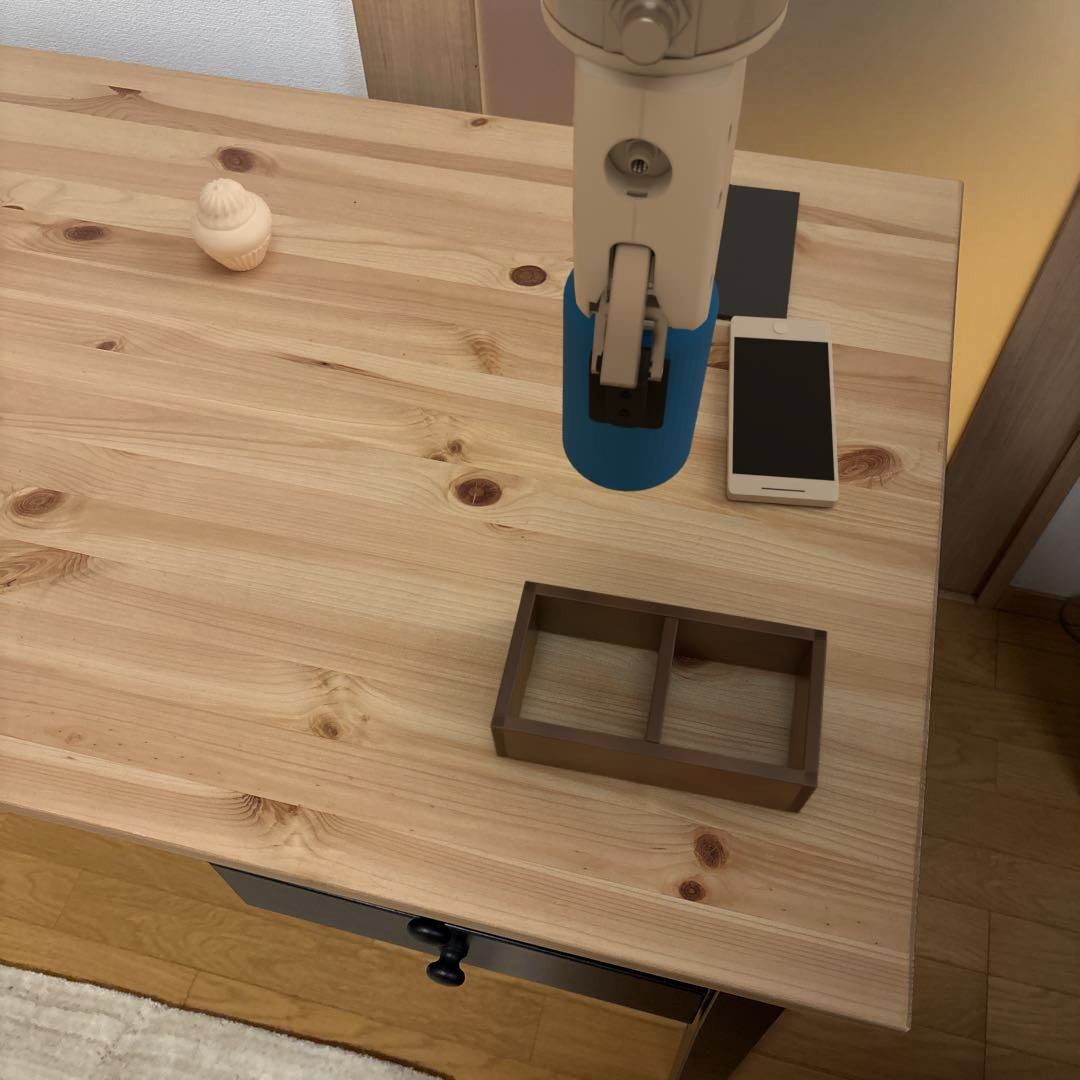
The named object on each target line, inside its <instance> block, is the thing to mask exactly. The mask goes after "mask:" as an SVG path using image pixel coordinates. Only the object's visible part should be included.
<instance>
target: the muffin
mask: <svg viewBox="0 0 1080 1080" xmlns="http://www.w3.org/2000/svg"><path fill="white" fill-rule="evenodd" d="M197 199H198V201H197V205H196V206H195V208H194V210H193V211H192V212H191V215H190V220H189V232H190V235H191V237H192V240H194V242H195V243H196V244H197V246H198V247H200V248H201V249H202V250H203V252H204V253H206V254H207V255H208V256H209V257H211V258H212V259H213V260H215V261H217V262H218V263H219V264H222V266H224V267H226V268H227V269H229V270H231V271H235V272H238V271H239V272H246V271H250V270H253V269H254V268H257V266H260V264H262V262H263V261H264V259H265V257H266V253H267V251H268V250H267V249H268V247H269V244H270V240H271V237H272V232H273V229H272V226H273V214H272V211H271V209H270V207H269V205H268V204H267V203H266V202H265V200H264V199H262V198H261V197H260V196H259V195H257V194H256V193H254V192H252V191H249V190H247V189H246V190H245V188H244V187H243V185H242V184H241V183H240V182H238V181H235V180H233V179H231V178H223V177H219V178H218V179H212V181H211V182H206V183H205V186H202V187H201V188H200V191H199V193H198V194H197Z"/></svg>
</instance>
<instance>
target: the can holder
mask: <svg viewBox="0 0 1080 1080" xmlns="http://www.w3.org/2000/svg"><path fill="white" fill-rule="evenodd" d="M539 632H544V633H549V634H555V635H561V636H567V637H572V638H577V639H585V640H590V641H595V642H602V643H607V644H613V645H619V646H625V647H630V648H634V649H636V648H637V649H643V650H648V651H653V652H657V657H656V664H655V669H654V676H653V683H652V690H651V697H650V702H649V709H648V715H647V722H646V727H645V733H644V740H643V739H637V738H631V737H625V736H620V735H616V734H609V733H605V732H604V733H603V732H599V731H595V730H589V729H582V728H578V727H577V728H576V727H572V726H568V725H561V724H556V723H550V722H545V721H540V720H534V719H528V718H524V717H520V715H521V711H522V706H523V703H524V702H523V701H524V697H525V692H526V688H527V683H528V680H529V675H530V672H531V671H530V670H531V666H532V662H533V657H534V653H535V649H536V644H537V640H538V634H539ZM828 634H829V632H828V631H827V630H825V629H820V628H819V629H818V628H813V627H806V626H801V625H796V624H790V623H789V624H788V623H782V622H777V621H770V620H765V619H759V618H753V617H746V616H741V615H734V614H729V613H722V612H718V611H713V610H712V611H711V610H705V609H699V608H693V607H686V606H681V605H674V604H669V603H668V604H667V603H665V602H664V603H663V602H657V601H651V600H646V599H639V598H634V597H633V598H632V597H627V596H621V595H615V594H609V593H604V592H598V591H592V590H586V589H580V588H573V587H566V586H561V585H556V584H549V583H543V582H538V581H532V580H525V581H524V585H523V588H522V592H521V597H520V601H519V605H518V609H517V613H516V617H515V621H514V626H513V630H512V634H511V638H510V642H509V647H508V650H507V655H506V659H505V663H504V666H503V667H504V668H503V671H502V676H501V680H500V684H499V689H498V691H497V697H496V701H495V705H494V710H493V713H492V717H491V721H490V731H491V735H492V740H493V744H494V750H495V755H496V757H499V758H504V759H510V760H515V761H521V762H527V763H531V764H536V765H541V766H547V767H553V768H558V769H562V770H569V771H574V772H579V773H584V774H589V775H593V776H599V777H605V778H610V779H615V780H620V781H626V782H631V783H637V784H641V785H645V786H650V787H651V786H652V787H657V788H662V789H669V790H673V791H678V792H684V793H689V794H695V795H699V796H704V797H709V798H714V799H721V800H726V801H730V802H731V801H732V802H735V803H741V804H746V805H751V806H752V805H753V806H756V807H762V808H768V809H772V810H779V811H783V812H788V813H794V814H800V812H801V811H802V810H803V808H804V806H805V805H806V804H807V802H808V801H809V800H810V798H811V797H812V795H814V793H815V792H816V790H817V788H818V787H819V786H818V784H819V767H820V753H821V752H820V751H821V738H822V723H823V709H824V693H825V680H826V679H825V677H826V665H827V663H826V661H827V649H828V648H827V647H828ZM674 655H675V656H676V655H677V656H682V657H689V658H694V659H698V660H699V659H701V660H705V661H712V662H717V663H723V664H727V665H734V666H740V667H744V668H752V669H757V670H763V671H769V672H775V673H780V674H786V675H791V676H794V677H795V678H794V691H793V702H792V712H791V713H792V714H791V715H792V716H791V725H790V726H791V727H790V737H789V739H790V740H789V751H788V762H787V763H788V764H787V766H784V765H783V766H782V765H778V764H772V763H767V762H761V761H757V760H756V761H755V760H750V759H745V758H739V757H735V756H729V755H724V754H718V753H712V752H708V751H702V750H696V749H690V748H685V747H680V746H676V745H675V746H674V745H669V744H664V743H661V740H662V734H663V727H664V722H665V721H664V720H665V714H666V706H667V700H668V694H669V687H670V682H671V681H670V679H671V674H672V673H671V672H672V667H673V660H674Z"/></svg>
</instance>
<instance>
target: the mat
mask: <svg viewBox="0 0 1080 1080" xmlns="http://www.w3.org/2000/svg"><path fill="white" fill-rule="evenodd" d="M800 197H801V192H800V191H793V190H783V189H774V188H767V187H757V186H748V185H739V184H731V183H729V188H728V194H727V200H726V207H725V214H724V220H723V226H722V232H721V239H720V245H719V251H718V257H717V263H716V269H715V275H714V280H715V283H716V286H717V289H718V295H719V309H718V314H717V319H720V320H727V321H731V319H732V318H733V317H734V316H744V317H761V318H778V319H788V308H789V298H790V291H791V290H790V289H791V279H792V271H793V261H794V255H795V253H794V251H795V243H796V234H797V226H798V225H797V224H798V216H799V207H800Z"/></svg>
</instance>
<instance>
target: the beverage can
mask: <svg viewBox="0 0 1080 1080" xmlns="http://www.w3.org/2000/svg"><path fill="white" fill-rule="evenodd" d="M611 285H612V279H611ZM611 285H610V290H611ZM648 294H649V295H655V294H654V292H653V283H649V288H648ZM718 309H719V295H718V289H717V286H716V283H715V280H714V282H713V288H712V295H711V301H710V307H709V312H708V317H707V319H706V320H705V322H704V323H703V324H702V325H701V326H699V327H698V328H696V329H695V330H689V329H675V328H672V327H671V326H670V325H668V333H667V341H666V350H665V358H666V359H670V360H671V364H670V373H669V381H668V390H667V399H666V407H665V416H664V422H663V426H662V427H661V428H659V429H647V428H640V427H637V428H624V427H617V426H614V425H611V424H608V423H600V422H595V421H592V420H591V419H590V418H589V415H588V412H589V357H590V352H591V350H593V341H594V328H595V315H596V313H592V316H591V318H588V317H587V316H586V315H585V314H584V313H583V312H582V311H581V310H580V308H579V307H578V305H577V302H576V296H575V285H574V267H572V269H571V271H570V273H569V274H568V276H567V279H566V281H565V284H564V288H563V294H562V406H561V408H562V415H561V417H562V418H561V419H562V422H561V423H562V424H561V425H562V427H561V428H562V429H561V435H562V436H561V439H562V440H561V441H562V447H563V450H564V453H565V456H566V458H567V460H568V462H569V463H570V464H571V466H572V468H573V469H574V470H575V471H576V472H577V473H578V474H579V475H581V476H582V477H583V478H584V479H586V480H587V481H589V482H591V483H592V484H594V485H597V486H598V487H600V488H604V489H607V490H611V491H616V492H624V493H625V492H628V493H629V492H630V493H631V492H633V493H635V492H642V491H647V490H650V489H651V490H652V489H653V488H657V487H659V486H661V485H663V484H665V483H666V482H668V481H670V480H671V479H673V478H674V477H675V476H676V475H677V474H678V473H679V472H680V471H681V470H682V469H683V467H684V466H685V464H686V462H687V461H688V459H689V457H690V454H691V449H692V446H693V445H692V444H693V440H694V434H695V429H696V425H697V419H698V414H699V409H700V403H701V399H702V395H703V391H704V384H705V379H706V374H707V370H708V364H709V359H710V354H711V349H712V344H713V339H714V332H715V329H716V323H717V319H718V318H717V314H718ZM653 329H654V321H647V320H644V326H643V334H642V342H641V347H648V348H651V346H652V338H653Z"/></svg>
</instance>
